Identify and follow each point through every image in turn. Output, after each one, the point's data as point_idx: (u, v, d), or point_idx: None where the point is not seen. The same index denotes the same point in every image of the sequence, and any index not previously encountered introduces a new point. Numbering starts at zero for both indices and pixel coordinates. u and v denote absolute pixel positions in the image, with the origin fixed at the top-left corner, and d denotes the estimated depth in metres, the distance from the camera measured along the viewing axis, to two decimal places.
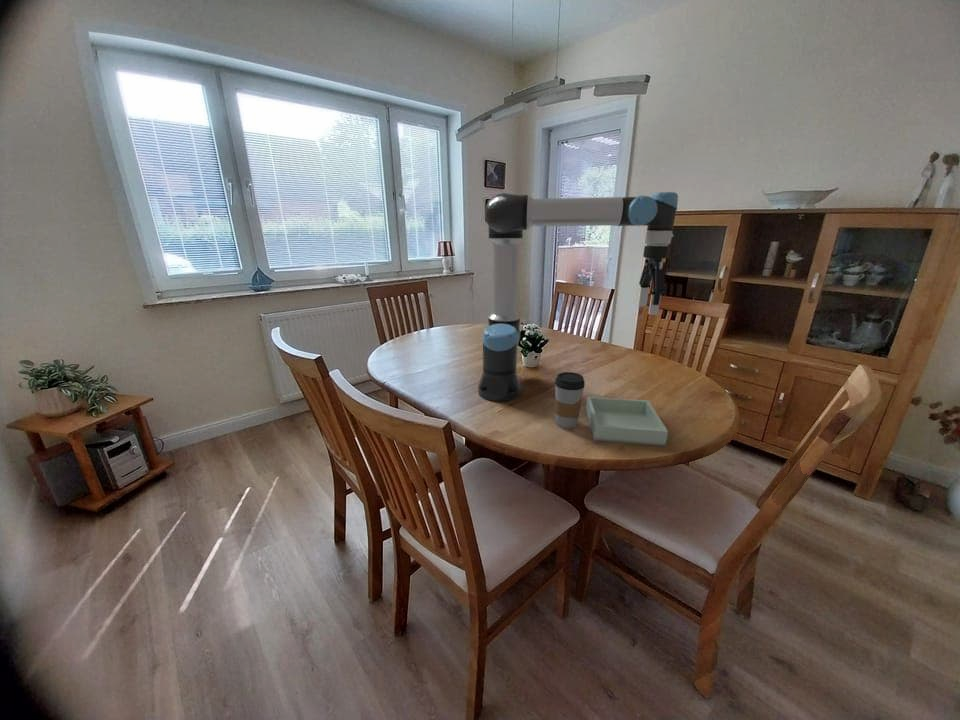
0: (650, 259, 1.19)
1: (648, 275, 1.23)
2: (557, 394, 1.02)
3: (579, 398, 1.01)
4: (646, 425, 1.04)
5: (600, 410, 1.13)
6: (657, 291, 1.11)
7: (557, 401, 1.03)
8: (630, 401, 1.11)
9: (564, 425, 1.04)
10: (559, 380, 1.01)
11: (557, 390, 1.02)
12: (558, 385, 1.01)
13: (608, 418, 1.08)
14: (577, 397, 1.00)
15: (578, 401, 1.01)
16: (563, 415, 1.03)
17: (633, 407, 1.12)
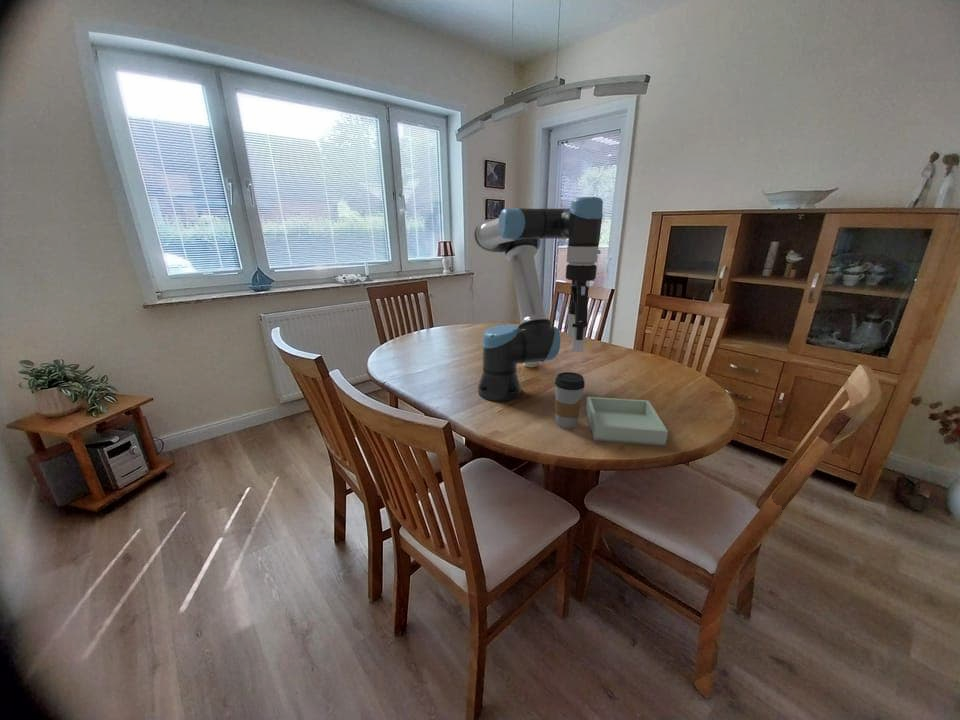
0: (575, 281, 0.94)
1: None
2: (557, 394, 1.02)
3: (579, 398, 1.01)
4: (646, 425, 1.04)
5: (600, 410, 1.13)
6: (578, 324, 0.87)
7: (557, 401, 1.03)
8: (630, 401, 1.11)
9: (564, 425, 1.04)
10: (559, 380, 1.01)
11: (557, 390, 1.02)
12: (558, 385, 1.01)
13: (608, 418, 1.08)
14: (577, 397, 1.00)
15: (578, 401, 1.01)
16: (563, 415, 1.03)
17: (633, 407, 1.12)
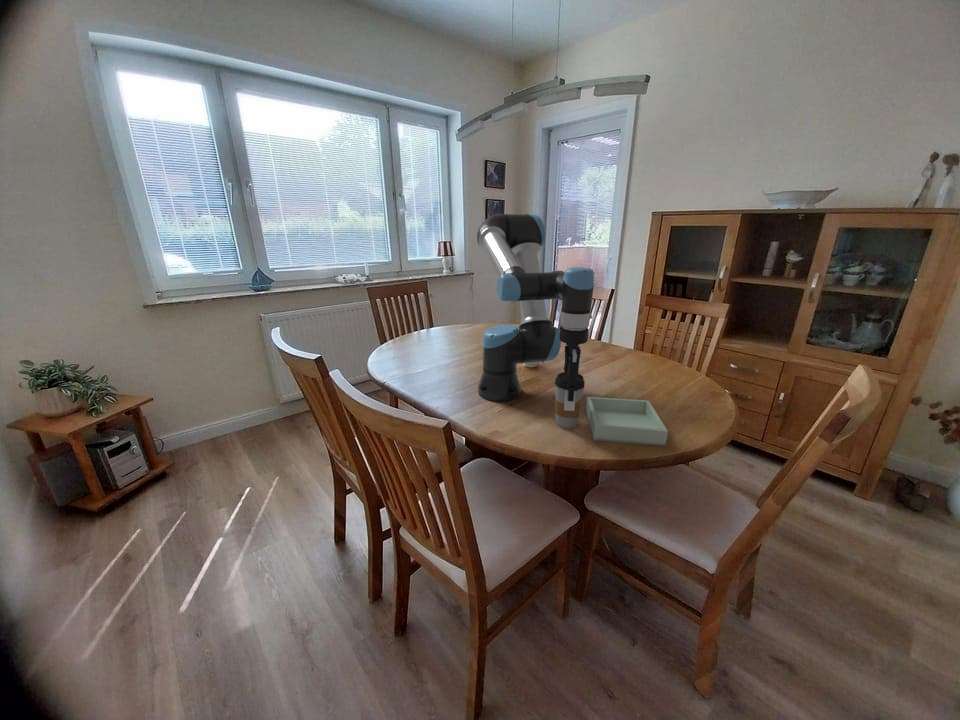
0: None
1: None
2: (557, 394, 1.02)
3: (579, 398, 1.01)
4: (646, 425, 1.04)
5: (600, 410, 1.13)
6: (569, 389, 0.95)
7: (557, 401, 1.03)
8: (630, 401, 1.11)
9: (564, 425, 1.04)
10: (559, 380, 1.01)
11: (557, 390, 1.02)
12: (558, 385, 1.01)
13: (608, 418, 1.08)
14: (577, 397, 1.00)
15: (578, 401, 1.01)
16: (563, 415, 1.03)
17: (633, 407, 1.12)
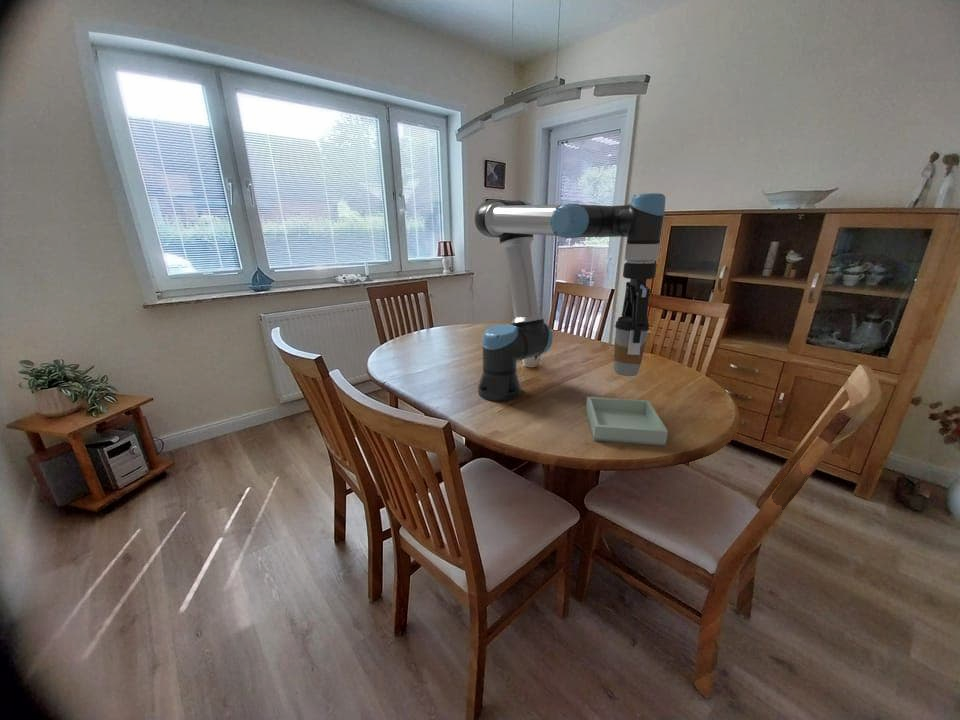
0: None
1: None
2: (618, 338, 0.95)
3: (643, 341, 0.93)
4: (646, 425, 1.04)
5: (600, 410, 1.13)
6: (637, 327, 0.87)
7: (618, 346, 0.95)
8: (630, 401, 1.11)
9: (625, 372, 0.96)
10: (622, 322, 0.93)
11: (619, 333, 0.94)
12: (620, 327, 0.93)
13: (608, 418, 1.08)
14: (641, 340, 0.93)
15: (642, 345, 0.94)
16: (625, 361, 0.95)
17: (633, 407, 1.12)
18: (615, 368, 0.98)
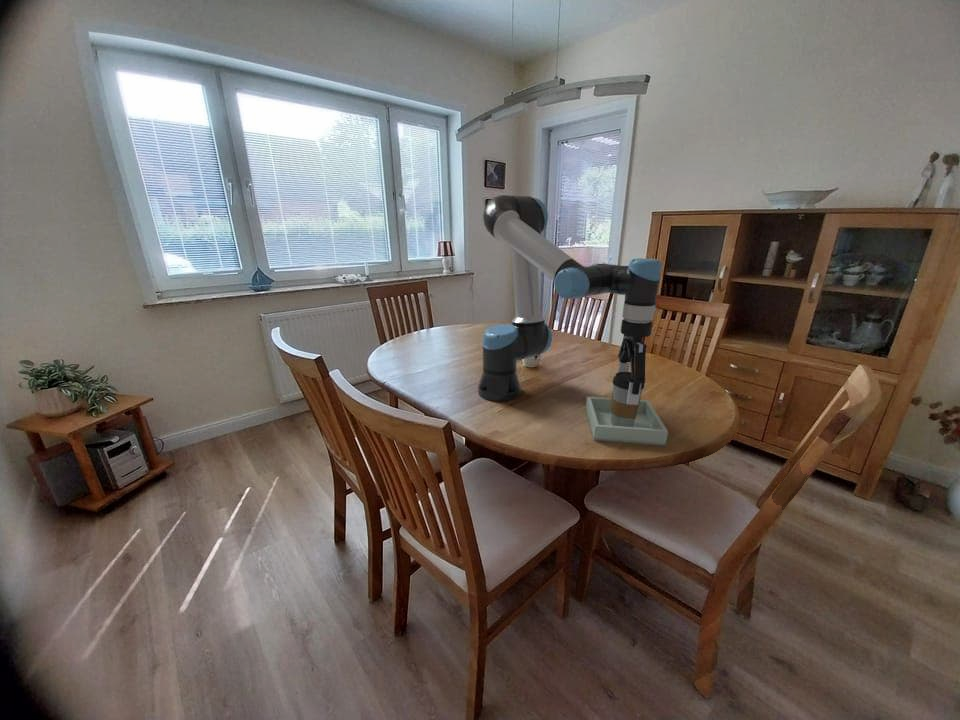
0: None
1: (627, 351, 1.01)
2: (615, 394, 1.00)
3: (639, 398, 0.99)
4: (646, 425, 1.04)
5: (600, 410, 1.13)
6: (636, 381, 0.90)
7: (615, 401, 1.01)
8: None
9: (621, 425, 1.02)
10: (619, 380, 0.99)
11: (616, 390, 1.00)
12: (618, 385, 0.99)
13: (608, 418, 1.08)
14: None
15: None
16: (621, 415, 1.01)
17: None
18: (611, 420, 1.04)
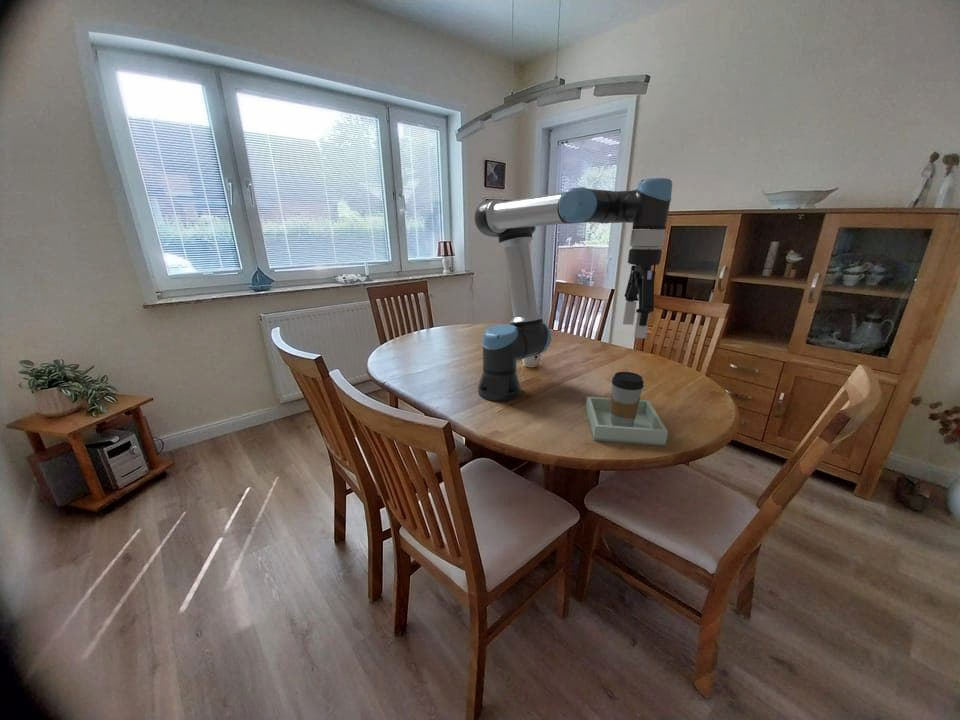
0: (637, 266, 0.92)
1: (635, 286, 0.96)
2: (615, 394, 1.01)
3: (638, 398, 0.99)
4: (646, 425, 1.04)
5: (600, 410, 1.13)
6: (644, 309, 0.85)
7: (614, 401, 1.01)
8: None
9: (621, 425, 1.02)
10: (618, 380, 0.99)
11: (615, 390, 1.00)
12: (617, 385, 0.99)
13: (608, 418, 1.08)
14: (636, 397, 0.99)
15: (637, 401, 1.00)
16: (621, 415, 1.01)
17: None
18: (611, 420, 1.04)
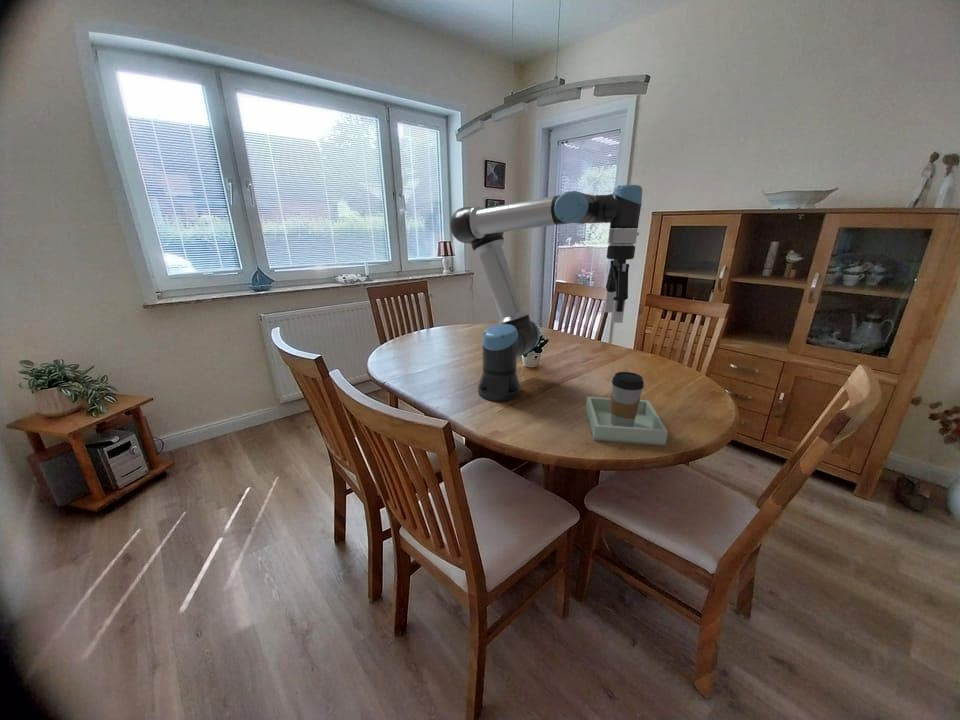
0: (614, 260, 1.07)
1: (613, 278, 1.10)
2: (615, 394, 1.01)
3: (638, 398, 0.99)
4: (646, 425, 1.04)
5: (600, 410, 1.13)
6: (620, 296, 0.99)
7: (615, 401, 1.01)
8: None
9: (621, 425, 1.02)
10: (618, 380, 0.99)
11: (615, 390, 1.00)
12: (617, 385, 0.99)
13: (608, 418, 1.08)
14: (636, 397, 0.99)
15: (637, 402, 1.00)
16: (621, 415, 1.01)
17: None
18: (611, 420, 1.04)
